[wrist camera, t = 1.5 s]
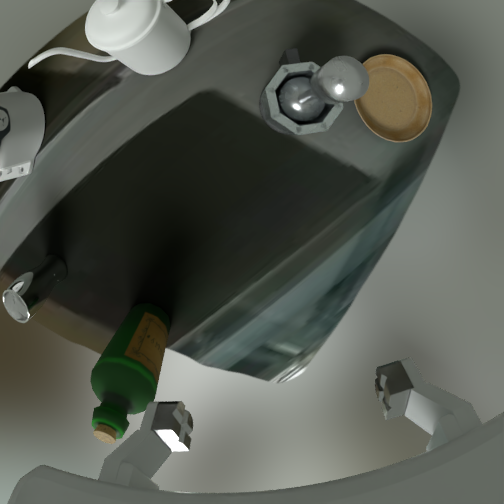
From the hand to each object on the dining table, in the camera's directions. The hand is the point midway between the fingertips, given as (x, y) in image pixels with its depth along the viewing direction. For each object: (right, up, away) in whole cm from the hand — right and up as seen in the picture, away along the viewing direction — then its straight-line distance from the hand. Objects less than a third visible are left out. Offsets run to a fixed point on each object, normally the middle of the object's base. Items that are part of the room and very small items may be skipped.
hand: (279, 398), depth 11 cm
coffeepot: (-16, +38, +25) cm, 48 cm away
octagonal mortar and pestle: (+5, +28, +29) cm, 41 cm away
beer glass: (-41, +3, +40) cm, 57 cm away
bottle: (-21, -7, +44) cm, 50 cm away
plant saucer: (+21, +31, +29) cm, 47 cm away
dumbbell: (+5, +24, +21) cm, 32 cm away
